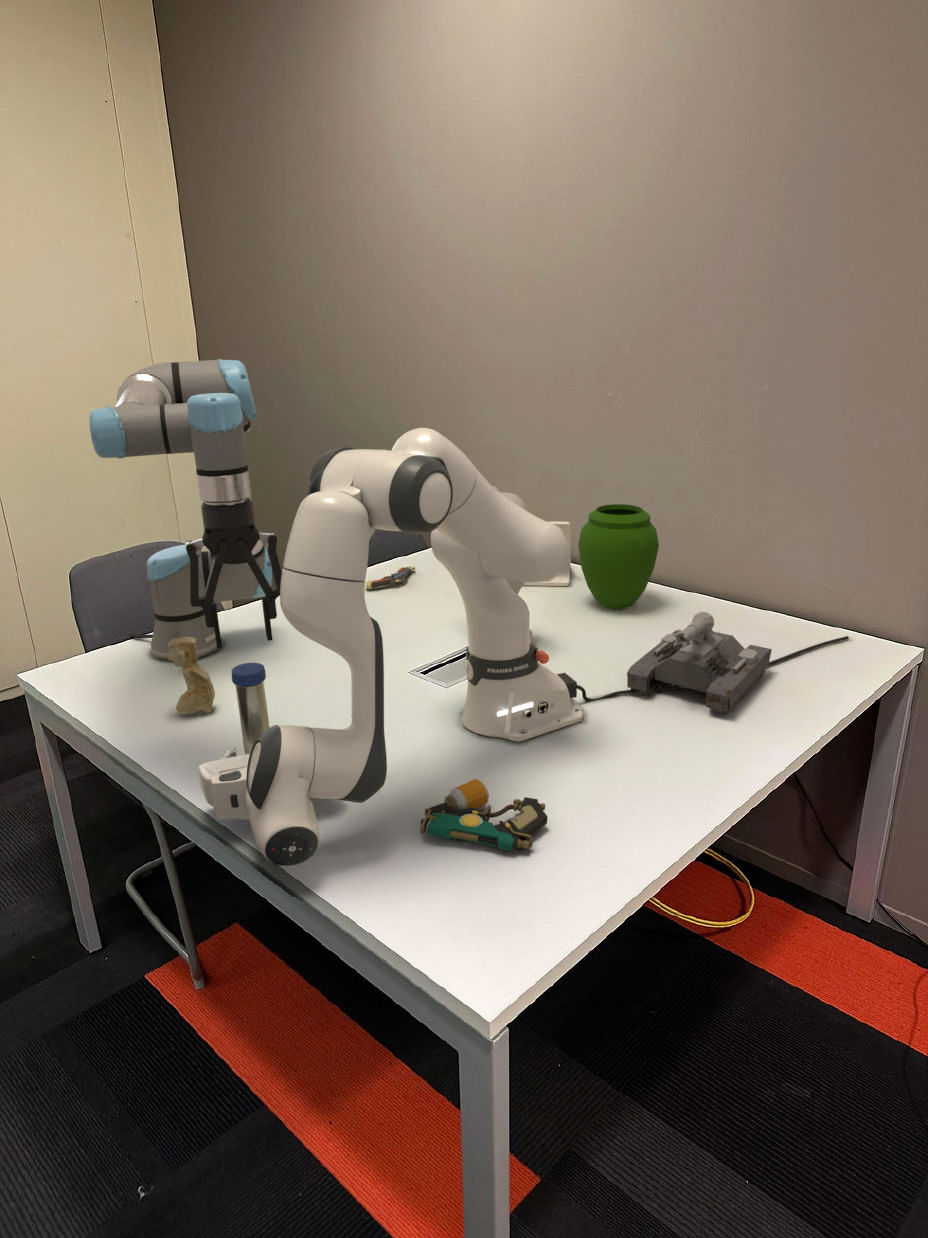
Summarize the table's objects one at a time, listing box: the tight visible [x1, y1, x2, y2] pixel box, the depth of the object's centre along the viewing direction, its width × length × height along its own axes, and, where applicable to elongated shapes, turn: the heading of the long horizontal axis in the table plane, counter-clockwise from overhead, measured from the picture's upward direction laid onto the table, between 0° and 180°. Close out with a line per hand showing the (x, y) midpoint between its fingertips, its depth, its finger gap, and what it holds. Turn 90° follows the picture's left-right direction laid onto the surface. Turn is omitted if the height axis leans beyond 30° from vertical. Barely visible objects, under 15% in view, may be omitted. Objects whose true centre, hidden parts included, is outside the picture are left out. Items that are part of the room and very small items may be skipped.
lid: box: [231, 662, 267, 686], centre depth 138 cm, size 5×5×2 cm
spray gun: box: [420, 778, 548, 852], centre depth 125 cm, size 4×17×15 cm
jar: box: [235, 680, 271, 755], centre depth 141 cm, size 4×4×18 cm
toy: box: [626, 611, 773, 714], centre depth 168 cm, size 25×20×15 cm
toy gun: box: [365, 565, 416, 590], centre depth 237 cm, size 3×19×10 cm
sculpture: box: [168, 637, 216, 716], centre depth 162 cm, size 6×7×15 cm
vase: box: [577, 503, 660, 610], centre depth 210 cm, size 20×20×24 cm
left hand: (244, 641), depth 136 cm, fingers open, 7 cm apart
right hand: (260, 746), depth 138 cm, fingers open, 8 cm apart
